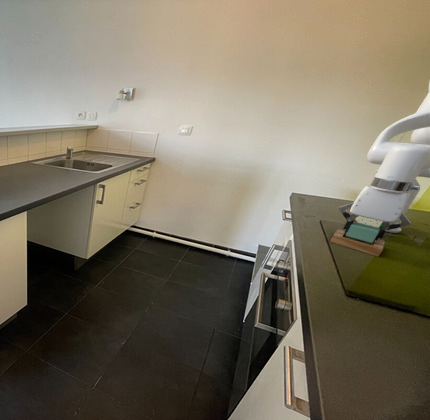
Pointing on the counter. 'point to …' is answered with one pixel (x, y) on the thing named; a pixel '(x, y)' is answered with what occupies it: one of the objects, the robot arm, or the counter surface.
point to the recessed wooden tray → (357, 243)
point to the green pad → (363, 232)
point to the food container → (369, 221)
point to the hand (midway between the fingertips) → (360, 234)
